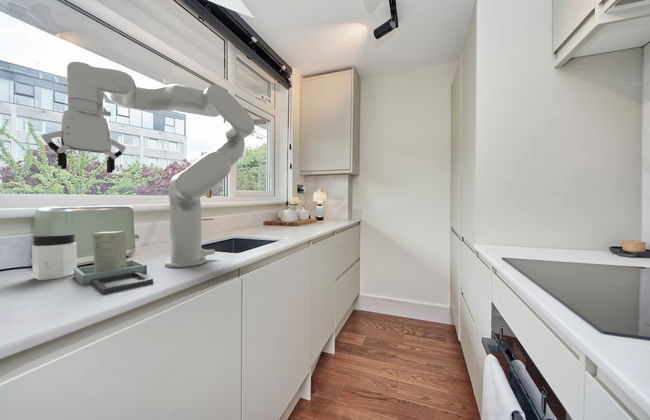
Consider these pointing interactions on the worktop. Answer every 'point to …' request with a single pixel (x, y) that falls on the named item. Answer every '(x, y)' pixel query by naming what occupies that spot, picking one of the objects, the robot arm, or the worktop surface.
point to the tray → (88, 272)
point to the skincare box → (109, 251)
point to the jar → (54, 255)
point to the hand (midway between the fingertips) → (88, 170)
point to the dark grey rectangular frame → (104, 289)
